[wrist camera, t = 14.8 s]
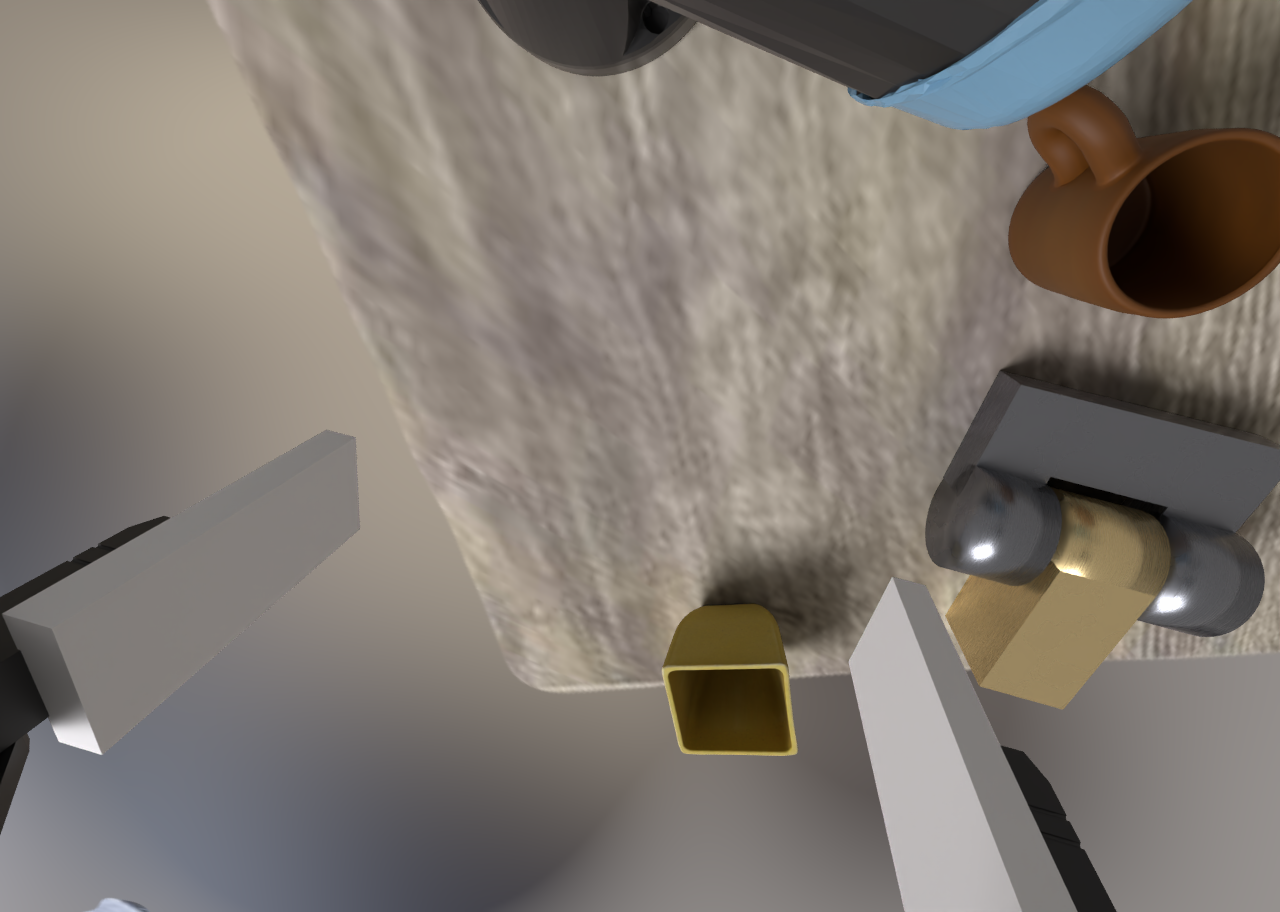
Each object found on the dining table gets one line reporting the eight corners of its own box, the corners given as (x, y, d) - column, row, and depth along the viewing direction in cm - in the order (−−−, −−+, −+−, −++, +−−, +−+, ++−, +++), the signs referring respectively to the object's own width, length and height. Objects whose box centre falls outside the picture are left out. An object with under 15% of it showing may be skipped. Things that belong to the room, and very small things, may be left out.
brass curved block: (1035, 468, 37) (1093, 522, 31) (1118, 489, 37) (1195, 549, 31) (945, 615, 43) (979, 686, 37) (1016, 635, 43) (1063, 709, 37)
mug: (922, 175, 32) (988, 167, 23) (1048, 47, 28) (1178, -16, 20) (1056, 317, 33) (1162, 357, 25) (1188, 212, 30) (1360, 218, 22)
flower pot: (673, 587, 47) (659, 668, 39) (779, 581, 45) (788, 665, 37) (690, 665, 50) (680, 754, 42) (789, 663, 48) (798, 756, 40)
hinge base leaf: (999, 370, 35) (1055, 407, 29) (1257, 434, 34) (1372, 487, 28) (915, 529, 41) (947, 589, 34) (1135, 588, 40) (1208, 661, 34)
